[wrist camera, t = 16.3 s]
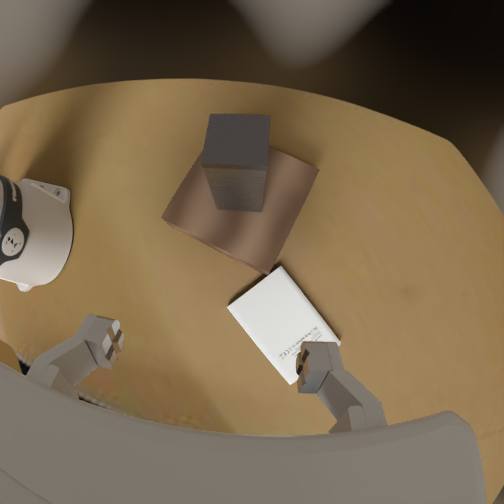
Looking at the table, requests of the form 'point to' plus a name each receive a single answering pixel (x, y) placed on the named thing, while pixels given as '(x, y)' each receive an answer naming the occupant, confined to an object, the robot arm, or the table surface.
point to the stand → (244, 212)
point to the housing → (236, 160)
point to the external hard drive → (280, 320)
